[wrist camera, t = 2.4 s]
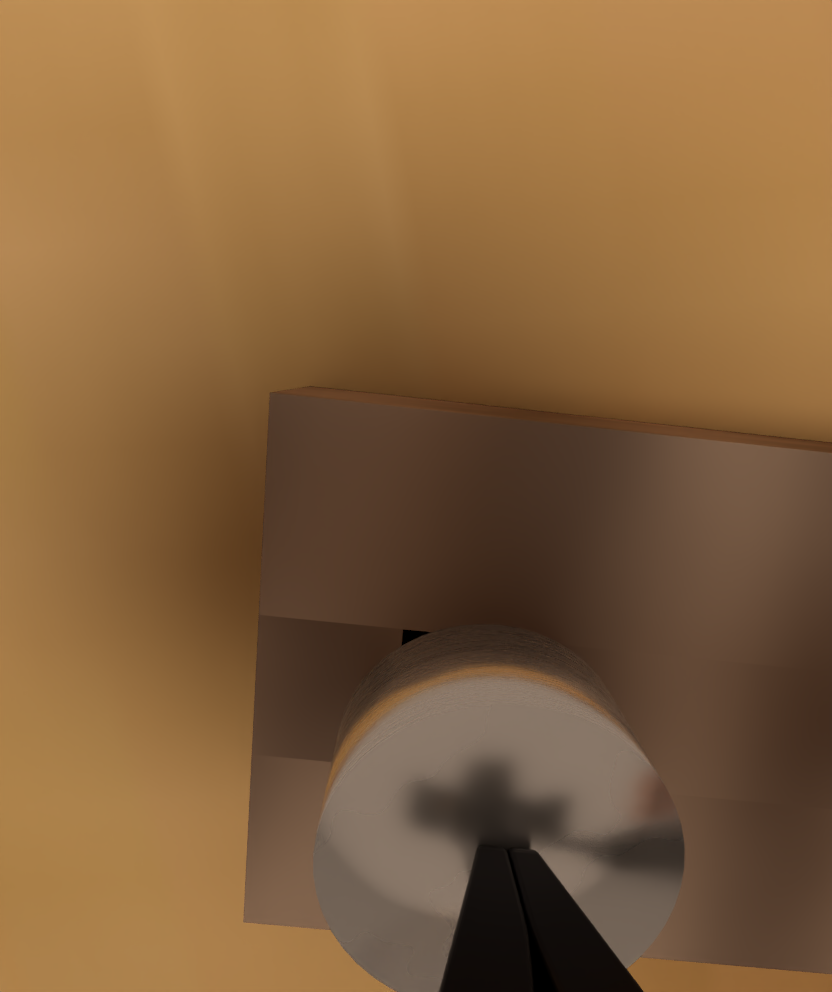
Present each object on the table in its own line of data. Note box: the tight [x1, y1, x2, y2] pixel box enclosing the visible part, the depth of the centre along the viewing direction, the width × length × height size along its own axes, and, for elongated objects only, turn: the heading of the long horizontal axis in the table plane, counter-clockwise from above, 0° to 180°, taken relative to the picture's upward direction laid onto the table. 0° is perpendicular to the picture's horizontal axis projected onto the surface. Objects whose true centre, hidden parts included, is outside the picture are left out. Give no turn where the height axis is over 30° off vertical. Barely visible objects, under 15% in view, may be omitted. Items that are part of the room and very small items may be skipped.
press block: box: [243, 386, 832, 974], centre depth 14 cm, size 24×12×4 cm, turn 84°
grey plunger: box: [313, 624, 685, 992], centre depth 11 cm, size 5×5×6 cm
